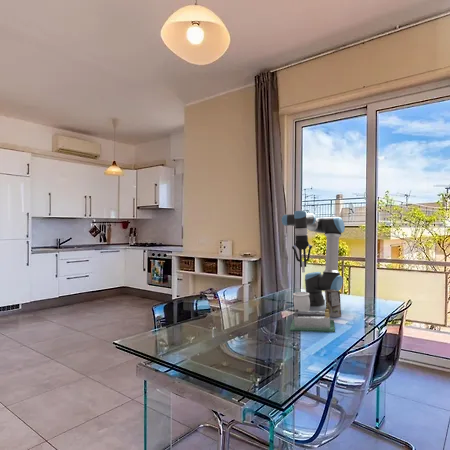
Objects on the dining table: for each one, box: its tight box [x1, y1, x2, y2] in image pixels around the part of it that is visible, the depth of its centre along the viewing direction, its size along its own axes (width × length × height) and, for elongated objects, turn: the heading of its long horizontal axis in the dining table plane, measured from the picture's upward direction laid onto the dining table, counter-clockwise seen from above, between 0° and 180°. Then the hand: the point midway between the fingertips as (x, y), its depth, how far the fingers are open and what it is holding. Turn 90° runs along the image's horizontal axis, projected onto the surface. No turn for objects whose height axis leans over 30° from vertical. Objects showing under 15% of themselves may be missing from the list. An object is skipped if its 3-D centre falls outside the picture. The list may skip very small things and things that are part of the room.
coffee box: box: [324, 289, 342, 318], centre depth 228 cm, size 9×6×16 cm
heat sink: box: [289, 308, 336, 333], centre depth 208 cm, size 25×20×9 cm
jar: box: [292, 291, 311, 312], centre depth 230 cm, size 11×10×15 cm
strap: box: [295, 311, 325, 316], centre depth 208 cm, size 18×5×1 cm, turn 74°
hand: (303, 272), depth 221 cm, fingers closed
